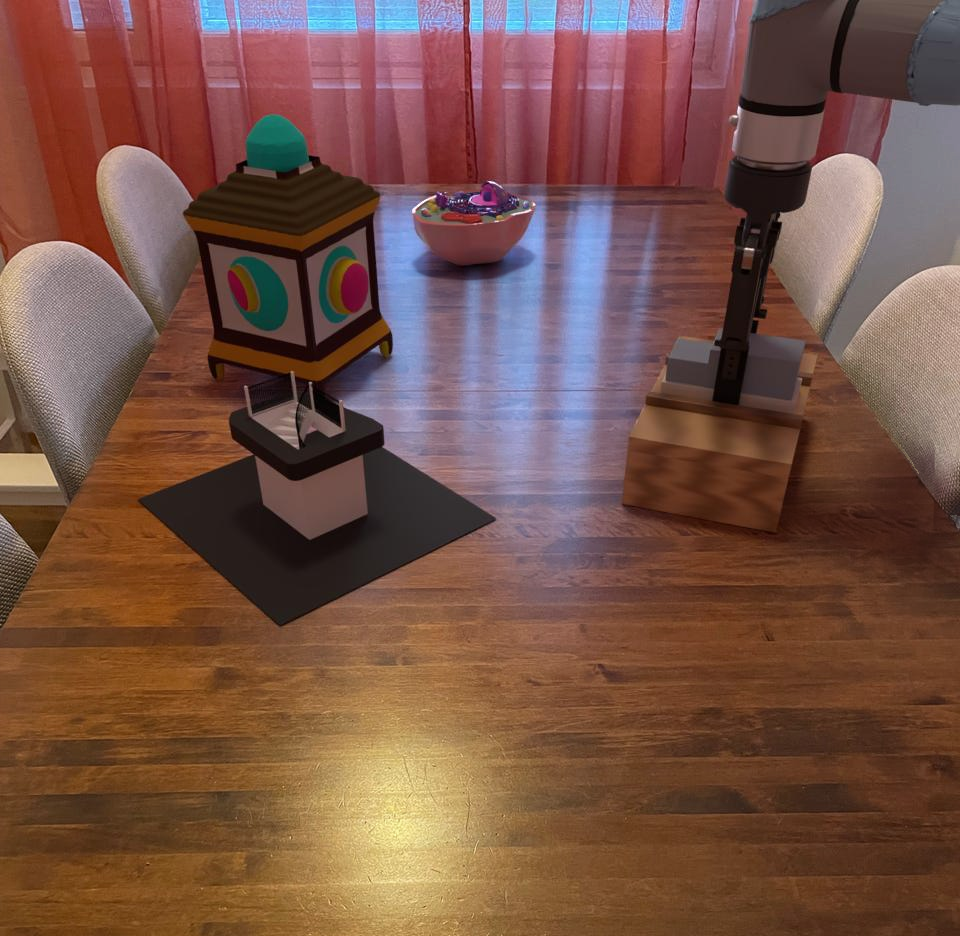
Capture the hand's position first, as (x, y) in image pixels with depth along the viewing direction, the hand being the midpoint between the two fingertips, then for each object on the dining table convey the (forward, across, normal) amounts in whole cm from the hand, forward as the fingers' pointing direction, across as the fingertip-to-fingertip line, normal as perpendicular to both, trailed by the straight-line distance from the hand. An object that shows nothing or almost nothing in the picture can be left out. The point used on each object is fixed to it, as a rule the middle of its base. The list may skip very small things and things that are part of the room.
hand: (730, 390), depth 105 cm
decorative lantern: (+8, -5, -55) cm, 56 cm away
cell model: (+8, -50, -48) cm, 70 cm away
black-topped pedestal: (+8, +25, -38) cm, 46 cm away
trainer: (0, 0, 0) cm, 0 cm away
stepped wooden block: (+8, 0, 0) cm, 8 cm away
